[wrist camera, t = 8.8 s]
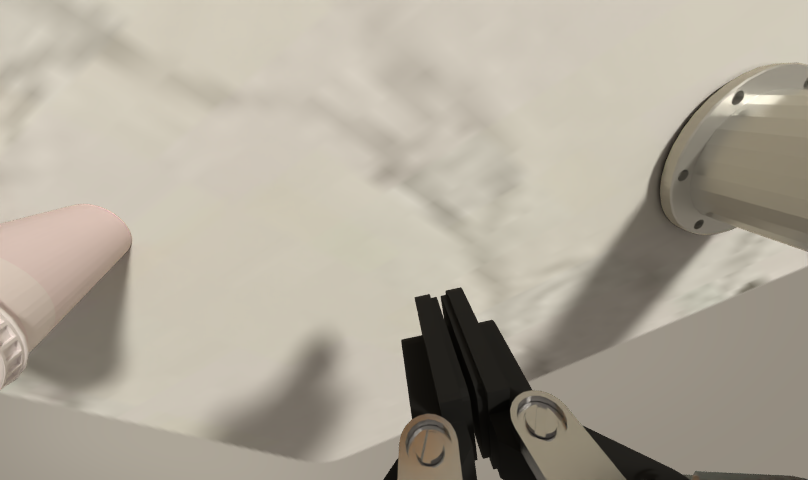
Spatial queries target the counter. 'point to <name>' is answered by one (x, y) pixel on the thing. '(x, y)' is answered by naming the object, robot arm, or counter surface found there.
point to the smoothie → (50, 273)
